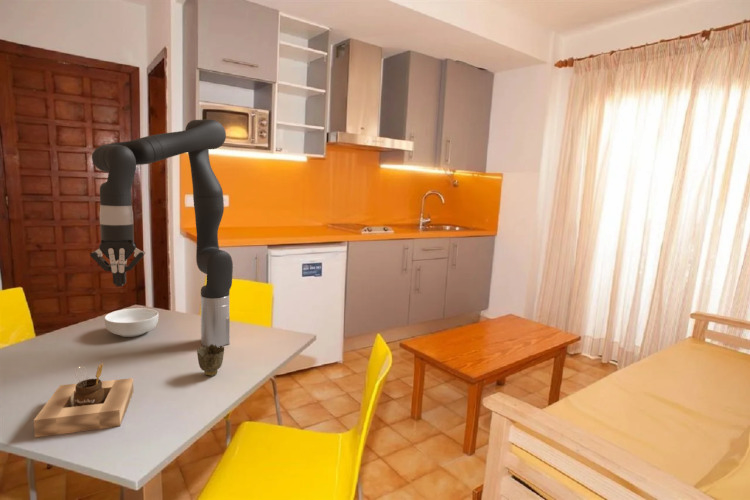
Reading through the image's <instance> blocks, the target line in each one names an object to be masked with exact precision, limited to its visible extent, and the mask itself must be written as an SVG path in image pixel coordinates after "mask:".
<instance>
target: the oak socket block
mask: <svg viewBox="0 0 750 500" xmlns="http://www.w3.org/2000/svg"><path fill="white" fill-rule="evenodd" d="M101 382H102V386H101V387H102V388H103V389H104V400H105V402H104V403H103V404H94V405H85V406H76V407H75V403H74V396H75V393H76V390H75V388H76V385H77V384H78V383H70V384H59V386H58V388H56V390H55V391H54V392H53V394H52V395H51V397H50V398H49V399H48V400H47V402H46V403H45V404H44V406H43V407H42V409H41V410H39V412H38V414H37V415H36V417H35V418H34V419H33V428H34V430H33V431H34V437H35V438H39V437H47V436H53V435H54V436H56V435H65V434H71V433H77V432H78V433H79V432H85V431H92V430H94V431H95V430H102V429H107V428H108V429H110V428H117V427H121V425H122V422H123V420H124V417H125V414H126V413H127V410H128V408H129V405H130V403H131V399H132V398H133V395H134V378H132V377H131V378H122V379H121V378H119V379H113V380H112V379H110V380H101Z"/></svg>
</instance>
